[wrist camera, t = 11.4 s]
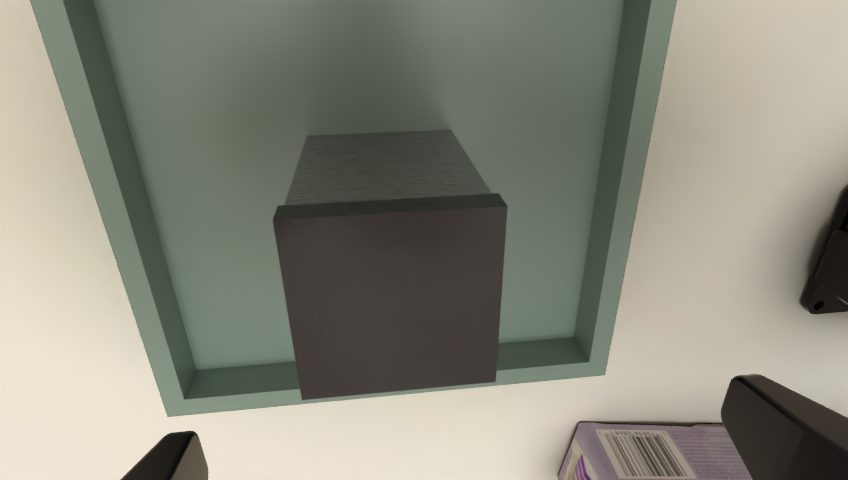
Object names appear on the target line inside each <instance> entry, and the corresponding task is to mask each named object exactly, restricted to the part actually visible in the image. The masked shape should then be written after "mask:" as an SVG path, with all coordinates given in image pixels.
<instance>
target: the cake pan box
mask: <svg viewBox="0 0 848 480" xmlns="http://www.w3.org/2000/svg"><path fill="white" fill-rule="evenodd" d="M558 480H752V478H751V476H750V474H749V472H748V470H747V469H746V467H745V465H744V463H743V461H742V459H741V457H740V455H739V453H738V452H737V450H736V448H735V446H734V444H733V442H732V440H731V438H730V436H729V435H728V433H727V431H726V429H725V427H724V425H723V424H722V425H719V424H696V425H693V426H692V427H683V426H659V425H621V424H599V423H595V422H583V423H579V424H578V426H577V429H576V432H575V434H574V437H573V439H572V442H571V445H570V447H569V450H568V453H567V455H566V457H565V459H564V462H563V465H562V468H561V470H560V473H559V475H558Z"/></svg>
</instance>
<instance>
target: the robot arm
mask: <svg viewBox="0 0 848 480" xmlns="http://www.w3.org/2000/svg"><path fill="white" fill-rule="evenodd" d="M802 306H803V308H804V309H806V310H807V311H808V312H810V313H811V314H824V313H835V312H847V311H848V189H847V190H846V192H845V194H844V196H843V199H842V201H841V204H840V206H839V209H838V212H837V214H836V217H835V219H834V222H833V224H832V227H831V230H830V232H829V235H828V237H827V240H826V242H825V245H824V248H823V250H822V253H821V255H820V258H819V261H818V263H817V266H816V268H815V271H814V273H813V276H812V279H811V281H810V284H809V286H808V289H807V291H806V294H805V297H804V299H803V302H802ZM721 419H722V422H723V425H724V427H725V429H726V431H727V433H728V435H729V436H730V438H731V440H732V442H733V444H734V446H735V448H736V450H737V452H738V453H739V455H740V457H741V459H742V461H743V463H744V465H745V467H746V469H747V470H748V472H749V474H750V476H751V478H752V480H848V418H847V417H845V416H843V415H841V414H839V413H837V412H835V411H833V410H830V409H828V408H826V407H824V406H822V405H820V404H818V403H816V402H814V401H812V400H810V399H808V398H806V397H804V396H802V395H800V394H798V393H796V392H794V391H792V390H790V389H788V388H786V387H784V386H782V385H780V384H778V383H776V382H774V381H772V380H770V379H768V378H766V377H764V376H762V375H758V374H750V375H740V376H736V377H734V378H733V379H732V380H731V382H730V384H729V387H728V390H727V393H726V396H725V399H724V402H723V405H722V408H721ZM121 480H208V466H207V463H206V459H205V456H204V453H203V450H202V446H201V443H200V440H199V437H198V435H197V434H196V432H194V431H186V432H176V433H170V434H167V435H166V436H164V437H163V438H162V439H161V440H160V441H159V442H158V443H157V444H156V445H155V446H154V447H153V448H152V449H151V450H150V451H149V452H148V453H147V454H146V455H145V456H144V457H143V458H142V459H141V460H140V461H139V462H138V463H137V464H136V465H135V466H134V467H133V468H132V469H131V470H130V471H129V472H128V473H127V474H126V475H125V476H124V477H123V478H122V479H121Z"/></svg>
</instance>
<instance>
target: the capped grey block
mask: <svg viewBox="0 0 848 480" xmlns="http://www.w3.org/2000/svg"><path fill="white" fill-rule="evenodd" d="M507 209H508V206H507V204H506V203H505V201H504V200H503V199H502V197H501V196H500V194H499V193H493V194H492V192H491V191H490V189H489V188H488V186H487V185H486V183H485V182H484V180H483V179H482V177H481V175H480V174H479V172H478V171H477V169H476V168H475V166H474V165H473V163H472V161H471V160H470V158H469V157H468V155H467V154H466V152H465V151H464V149H463V148H462V146H461V144H460V143H459V141H458V140H457V138H456V137H455V135H454V134H453V132H452V130H451V129H450V130H427V131H404V132H381V133H358V134H335V135H312V136H307V137H306V140H305V143H304V146H303V149H302V152H301V155H300V158H299V161H298V164H297V167H296V170H295V173H294V176H293V180H292V183H291V186H290V189H289V192H288V195H287V198H286V201H285V204H284V205H280V206H277V209H276V212H275V215H274V217H273V226H274V232H275V238H276V244H277V250H278V257H279V263H280V269H281V275H282V281H283V287H284V293H285V300H286V306H287V312H288V318H289V324H290V330H291V337H292V343H293V349H294V355H295V361H296V367H297V374H298V380H299V386H300V392H301V398H302V400H309V399H320V398H331V397H341V396H352V395H363V394H373V393H384V392H394V391H405V390H416V389H426V388H437V387H448V386H458V385H469V384H479V383H490V382H496V372H497V357H498V342H499V327H500V312H501V298H502V283H503V268H504V253H505V238H506V223H507Z"/></svg>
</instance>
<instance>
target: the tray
mask: <svg viewBox="0 0 848 480" xmlns="http://www.w3.org/2000/svg"><path fill="white" fill-rule="evenodd" d="M676 1H677V0H30V2H31V5H32V8H33V11H34V14H35V17H36V20H37V23H38V26H39V29H40V32H41V35H42V38H43V41H44V44H45V47H46V50H47V53H48V56H49V59H50V62H51V65H52V68H53V71H54V74H55V77H56V80H57V83H58V86H59V89H60V92H61V95H62V98H63V102H64V105H65V108H66V111H67V114H68V117H69V120H70V123H71V126H72V129H73V132H74V135H75V138H76V141H77V144H78V147H79V150H80V153H81V156H82V159H83V162H84V165H85V168H86V171H87V174H88V177H89V180H90V183H91V186H92V189H93V192H94V195H95V198H96V201H97V204H98V207H99V211H100V214H101V217H102V220H103V223H104V226H105V229H106V232H107V235H108V238H109V241H110V244H111V247H112V250H113V253H114V256H115V259H116V262H117V265H118V268H119V271H120V274H121V277H122V280H123V283H124V286H125V289H126V292H127V295H128V298H129V301H130V304H131V307H132V310H133V313H134V316H135V319H136V323H137V326H138V329H139V332H140V335H141V338H142V341H143V344H144V347H145V350H146V353H147V356H148V359H149V362H150V365H151V368H152V371H153V374H154V377H155V380H156V383H157V386H158V389H159V392H160V395H161V398H162V401H163V404H164V407H165V410H166V413H167V416H168V417H171V416H182V415H192V414H203V413H213V412H224V411H234V410H245V409H255V408H266V407H276V406H287V405H297V404H307V403H318V402H328V401H339V400H349V399H360V398H370V397H381V396H391V395H402V394H412V393H423V392H433V391H443V390H454V389H464V388H475V387H485V386H496V385H506V384H517V383H527V382H538V381H548V380H559V379H569V378H579V377H590V376H600V375H605V371H606V366H607V361H608V356H609V350H610V345H611V340H612V335H613V330H614V324H615V319H616V314H617V309H618V304H619V298H620V293H621V288H622V283H623V277H624V272H625V267H626V262H627V257H628V251H629V246H630V241H631V236H632V231H633V225H634V220H635V215H636V210H637V205H638V199H639V194H640V189H641V184H642V178H643V173H644V168H645V163H646V158H647V152H648V147H649V142H650V137H651V132H652V126H653V121H654V116H655V111H656V106H657V100H658V95H659V90H660V85H661V80H662V74H663V69H664V64H665V59H666V53H667V48H668V43H669V38H670V33H671V27H672V22H673V17H674V12H675V7H676ZM450 129H451V130H452V132H453V134H454V135H455V137H456V138H457V140H458V141H459V143H460V144H461V146H462V148H463V149H464V151H465V152H466V154H467V155H468V157H469V158H470V160H471V161H472V163H473V165H474V166H475V168H476V169H477V171H478V172H479V174H480V175H481V177H482V179H483V180H484V182H485V183H486V185H487V186H488V188H489V189H490V191H491V192H492V194H493V193H499V194H500V196H501V197H502V199H503V200H504V201H505V203H506V204H507V206H508V209H507V223H506V238H505V253H504V268H503V283H502V298H501V312H500V327H499V342H498V357H497V372H496V382H490V383H479V384H469V385H458V386H448V387H437V388H426V389H416V390H405V391H394V392H384V393H373V394H363V395H352V396H341V397H331V398H320V399H309V400H302V398H301V392H300V386H299V380H298V374H297V367H296V361H295V355H294V349H293V343H292V337H291V330H290V324H289V318H288V312H287V306H286V300H285V293H284V287H283V281H282V275H281V269H280V263H279V257H278V250H277V244H276V238H275V232H274V226H273V217H274V215H275V212H276V209H277V206H280V205H284V204H285V201H286V198H287V195H288V192H289V189H290V186H291V183H292V180H293V176H294V173H295V170H296V167H297V164H298V161H299V158H300V155H301V152H302V149H303V146H304V143H305V140H306V137H307V136H312V135H335V134H358V133H381V132H404V131H427V130H450Z"/></svg>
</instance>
